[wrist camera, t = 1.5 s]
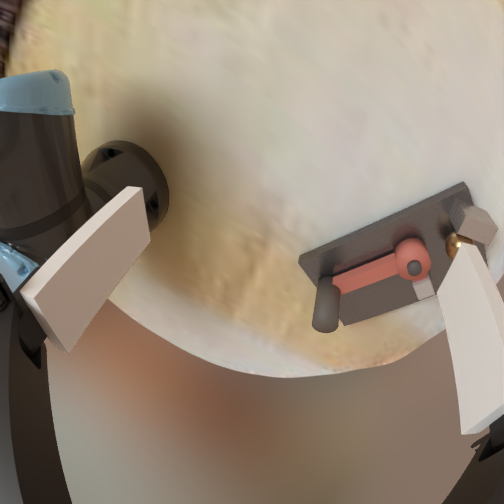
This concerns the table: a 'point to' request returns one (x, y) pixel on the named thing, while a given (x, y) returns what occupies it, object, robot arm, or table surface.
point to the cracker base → (386, 240)
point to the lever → (373, 280)
